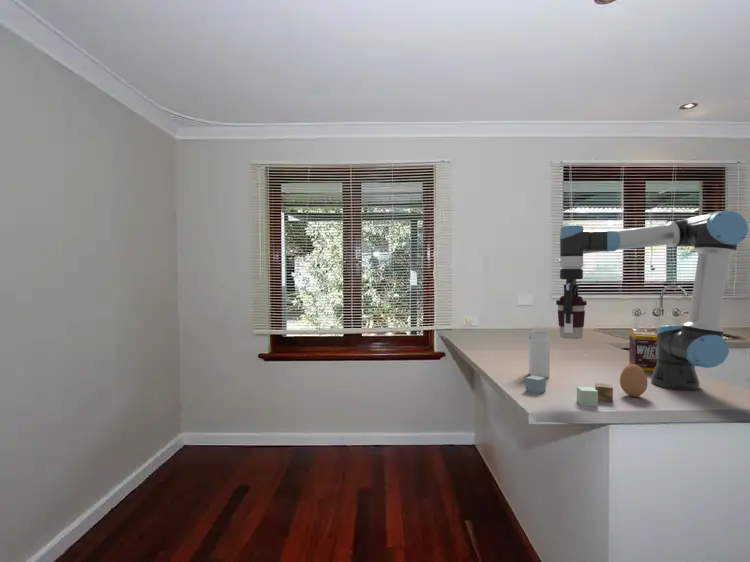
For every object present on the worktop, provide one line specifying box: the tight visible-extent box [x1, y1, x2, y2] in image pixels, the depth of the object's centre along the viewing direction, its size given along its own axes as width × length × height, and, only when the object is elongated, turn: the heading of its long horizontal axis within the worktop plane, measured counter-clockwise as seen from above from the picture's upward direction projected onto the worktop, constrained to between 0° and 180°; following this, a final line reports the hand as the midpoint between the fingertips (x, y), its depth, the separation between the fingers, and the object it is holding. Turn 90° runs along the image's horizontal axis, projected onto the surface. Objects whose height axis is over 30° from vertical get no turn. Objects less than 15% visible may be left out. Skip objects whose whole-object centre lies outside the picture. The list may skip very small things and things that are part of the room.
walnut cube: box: [594, 382, 614, 404], centre depth 146 cm, size 5×5×5 cm
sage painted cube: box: [576, 386, 599, 407], centre depth 142 cm, size 5×5×5 cm
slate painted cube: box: [525, 375, 547, 394], centre depth 157 cm, size 5×5×5 cm
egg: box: [619, 364, 648, 398], centre depth 150 cm, size 8×8×11 cm
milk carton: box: [528, 329, 551, 378], centre depth 180 cm, size 7×7×19 cm
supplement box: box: [628, 330, 657, 373], centre depth 194 cm, size 10×15×16 cm
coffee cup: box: [555, 295, 588, 340], centre depth 154 cm, size 10×10×15 cm
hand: (571, 330), depth 155 cm, fingers closed on coffee cup, 9 cm apart
